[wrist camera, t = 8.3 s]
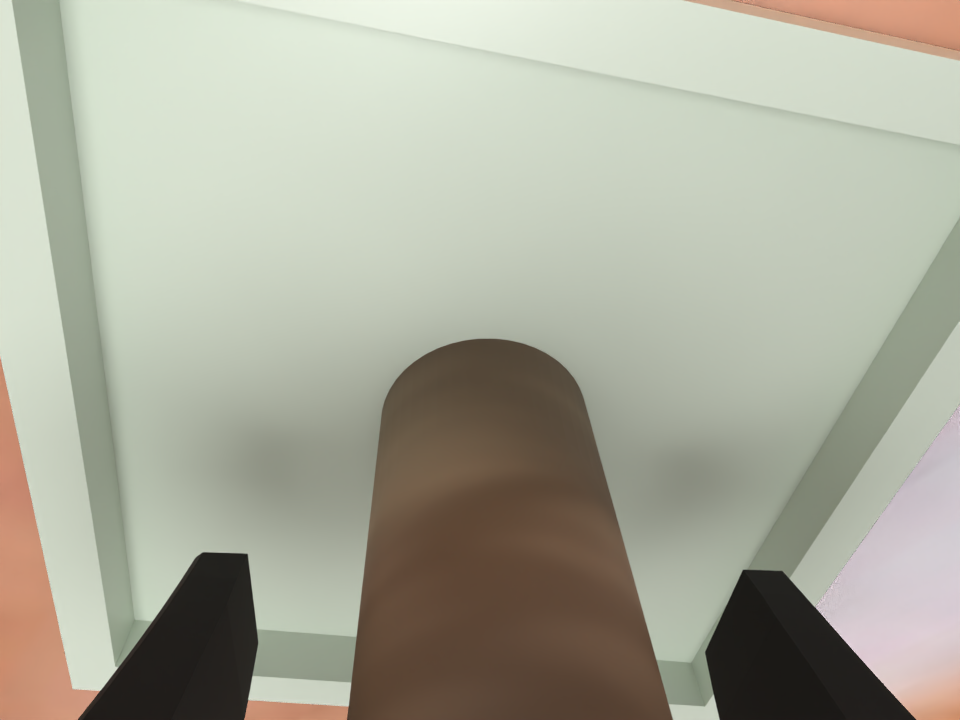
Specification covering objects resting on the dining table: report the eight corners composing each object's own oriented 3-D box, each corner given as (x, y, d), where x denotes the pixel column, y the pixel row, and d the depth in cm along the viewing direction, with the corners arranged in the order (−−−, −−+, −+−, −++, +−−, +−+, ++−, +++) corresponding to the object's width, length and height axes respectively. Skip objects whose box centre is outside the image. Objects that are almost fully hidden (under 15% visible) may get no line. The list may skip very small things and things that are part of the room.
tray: (1064, 74, 11) (1171, 107, 10) (703, 660, 20) (727, 730, 18) (-14, -165, 9) (-116, -175, 7) (107, 613, 18) (72, 689, 16)
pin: (602, 343, 13) (735, 719, 7) (568, 501, 15) (648, 886, 9) (381, 332, 13) (331, 717, 7) (380, 496, 15) (340, 892, 9)
